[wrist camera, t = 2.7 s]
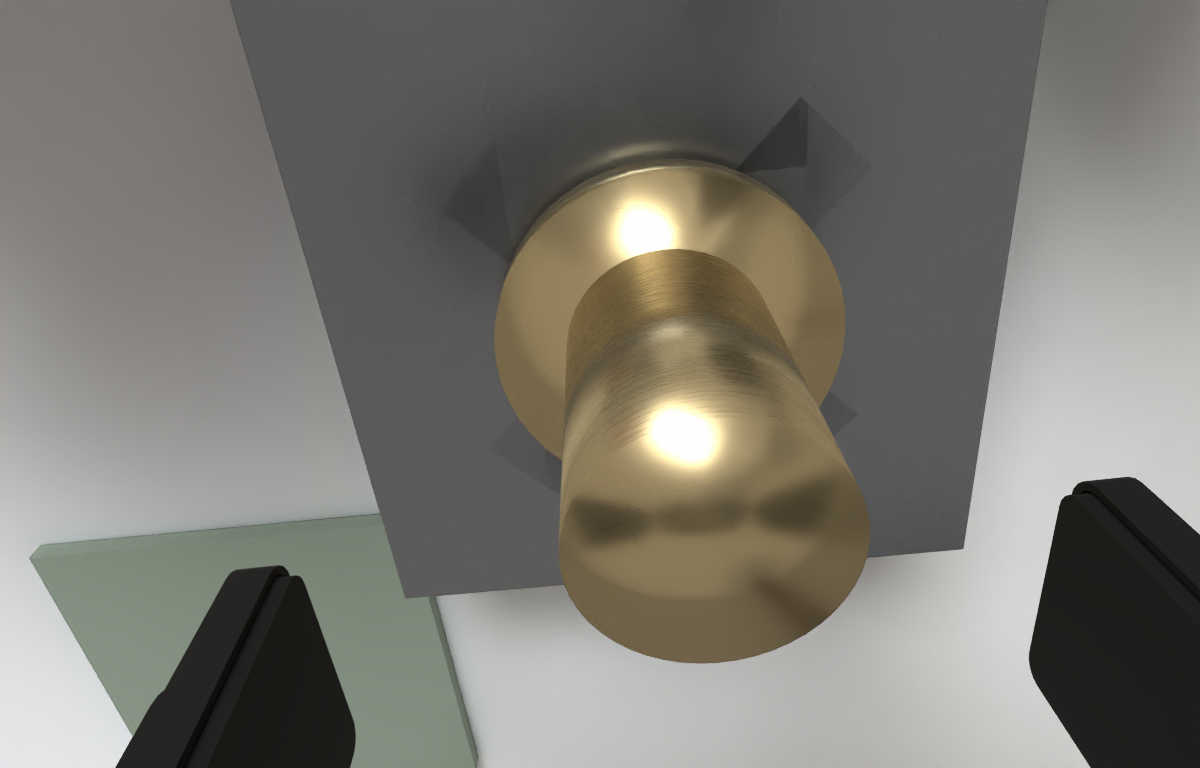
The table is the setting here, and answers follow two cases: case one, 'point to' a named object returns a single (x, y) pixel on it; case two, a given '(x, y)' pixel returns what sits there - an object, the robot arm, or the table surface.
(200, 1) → the table surface
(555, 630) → the table surface
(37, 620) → the table surface
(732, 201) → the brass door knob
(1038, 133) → the table surface
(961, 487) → the block
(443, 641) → the mat
